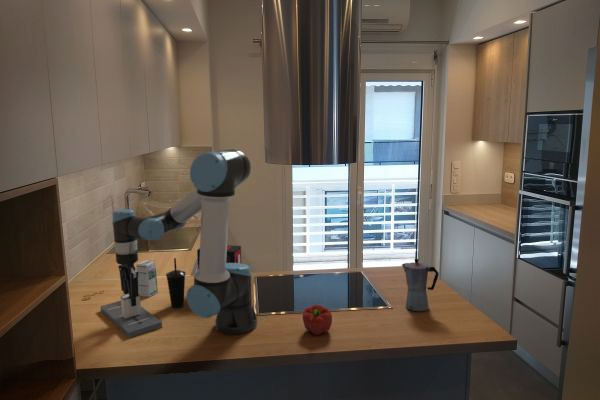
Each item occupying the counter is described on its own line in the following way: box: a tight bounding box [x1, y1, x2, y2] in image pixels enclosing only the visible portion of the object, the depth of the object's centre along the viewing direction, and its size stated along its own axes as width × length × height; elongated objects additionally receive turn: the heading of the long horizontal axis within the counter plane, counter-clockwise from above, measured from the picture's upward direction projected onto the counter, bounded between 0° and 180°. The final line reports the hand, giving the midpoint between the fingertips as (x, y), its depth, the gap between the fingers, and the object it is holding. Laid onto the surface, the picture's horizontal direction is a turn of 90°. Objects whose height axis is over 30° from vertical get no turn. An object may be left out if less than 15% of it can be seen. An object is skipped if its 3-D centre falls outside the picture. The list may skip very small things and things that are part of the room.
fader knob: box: [119, 294, 142, 319], centre depth 164 cm, size 3×6×8 cm, turn 131°
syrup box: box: [135, 259, 159, 298], centre depth 189 cm, size 6×6×14 cm
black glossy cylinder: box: [165, 257, 186, 309], centre depth 176 cm, size 8×8×20 cm
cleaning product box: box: [196, 244, 242, 271], centre depth 191 cm, size 16×9×20 cm, turn 80°
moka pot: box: [401, 258, 439, 312], centre depth 172 cm, size 10×15×20 cm, turn 55°
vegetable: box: [302, 304, 333, 336], centre depth 153 cm, size 11×10×10 cm
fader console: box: [100, 300, 163, 339], centre depth 166 cm, size 30×12×2 cm, turn 41°
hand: (131, 311), depth 164 cm, fingers closed on fader knob, 3 cm apart
